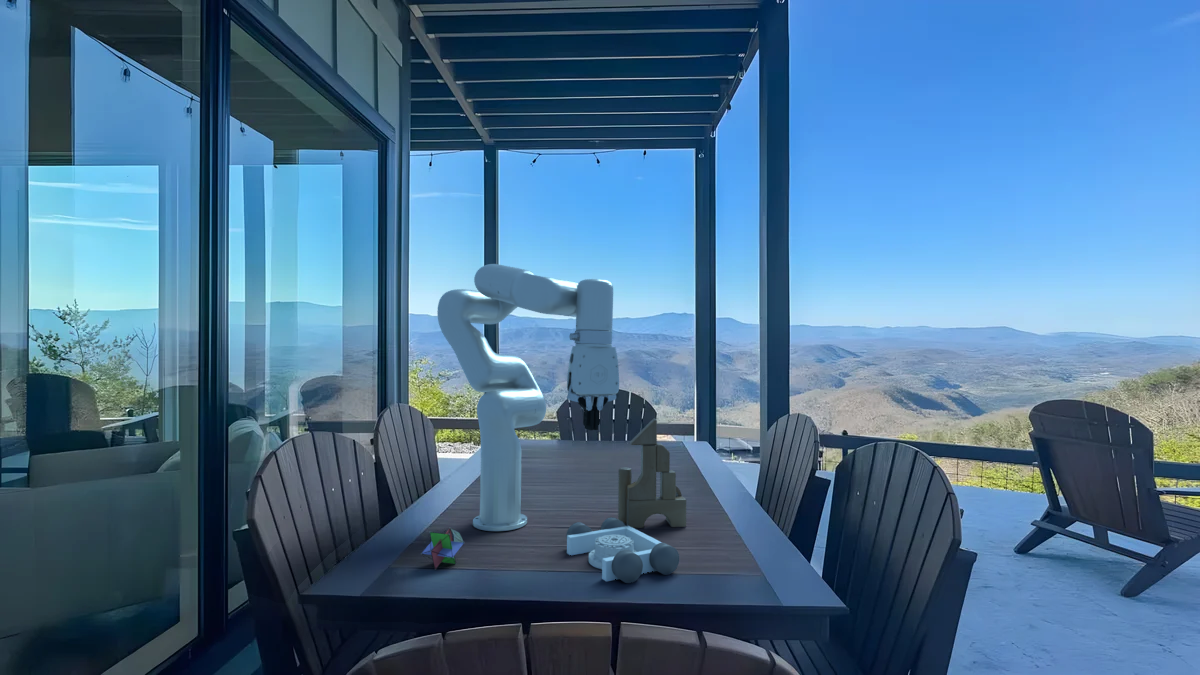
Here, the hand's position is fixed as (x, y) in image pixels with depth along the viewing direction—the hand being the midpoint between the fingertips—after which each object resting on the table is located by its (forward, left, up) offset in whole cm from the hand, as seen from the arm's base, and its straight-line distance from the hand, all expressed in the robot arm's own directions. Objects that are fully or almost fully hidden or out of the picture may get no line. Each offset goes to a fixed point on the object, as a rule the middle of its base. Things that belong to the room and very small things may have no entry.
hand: (591, 429), depth 113 cm
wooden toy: (-10, +22, -25) cm, 35 cm away
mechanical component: (+7, +2, -25) cm, 26 cm away
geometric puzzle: (-6, -28, -25) cm, 38 cm away
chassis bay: (+7, +2, -25) cm, 26 cm away
